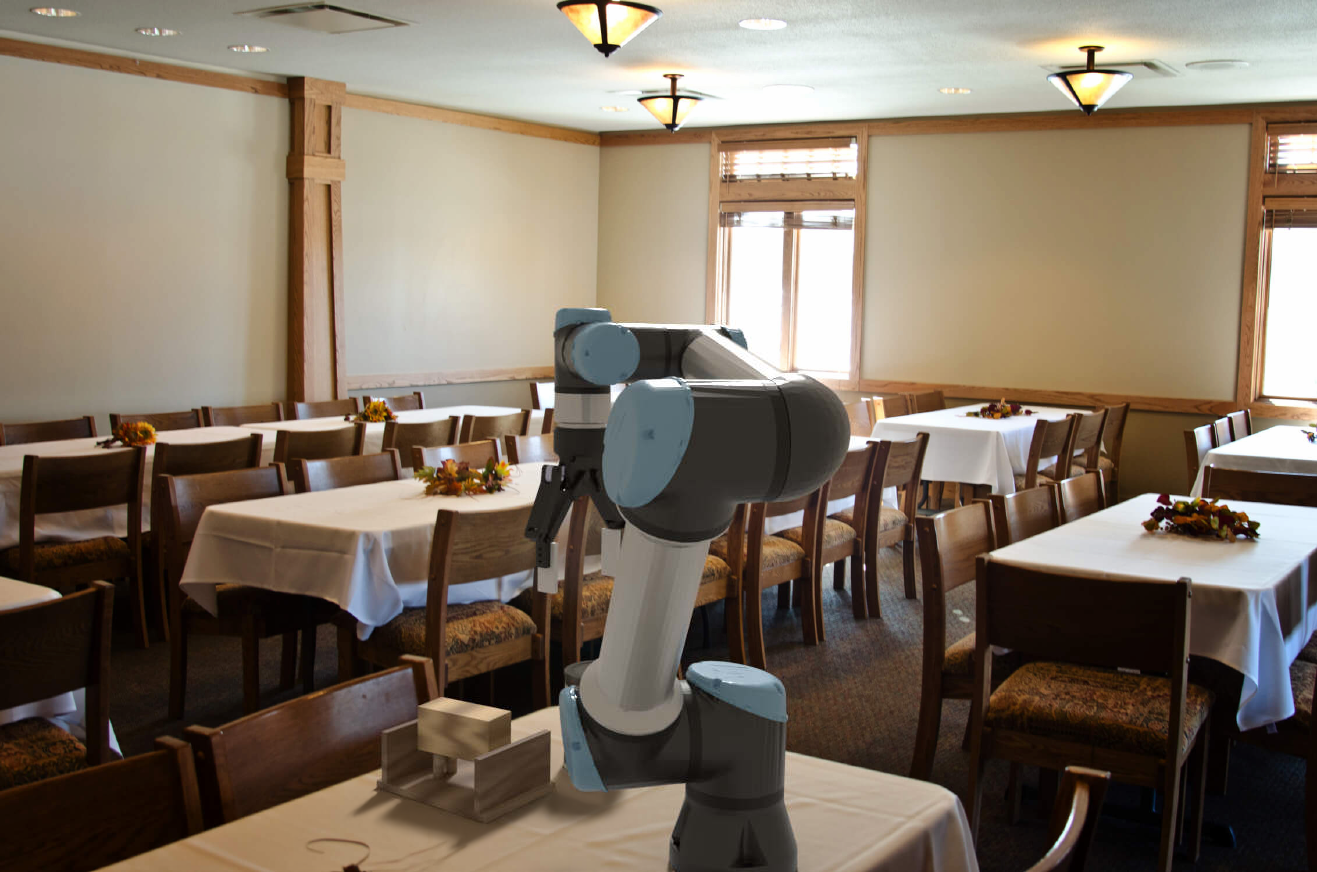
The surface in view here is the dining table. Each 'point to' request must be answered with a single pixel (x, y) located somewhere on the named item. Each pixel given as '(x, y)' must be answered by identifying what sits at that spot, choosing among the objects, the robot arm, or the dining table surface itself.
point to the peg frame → (467, 774)
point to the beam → (462, 728)
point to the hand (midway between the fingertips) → (580, 583)
